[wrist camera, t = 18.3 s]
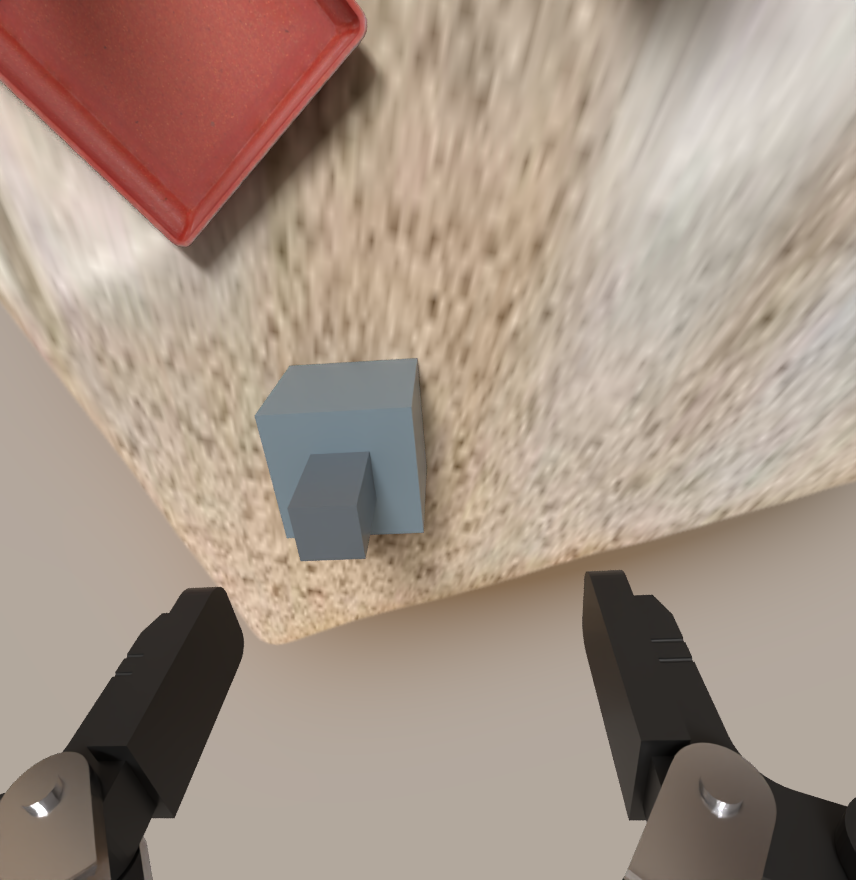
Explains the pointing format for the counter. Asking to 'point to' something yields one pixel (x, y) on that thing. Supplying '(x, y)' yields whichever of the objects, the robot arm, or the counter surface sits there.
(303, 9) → the plant saucer
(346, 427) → the grey block
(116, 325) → the counter surface
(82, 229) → the counter surface
